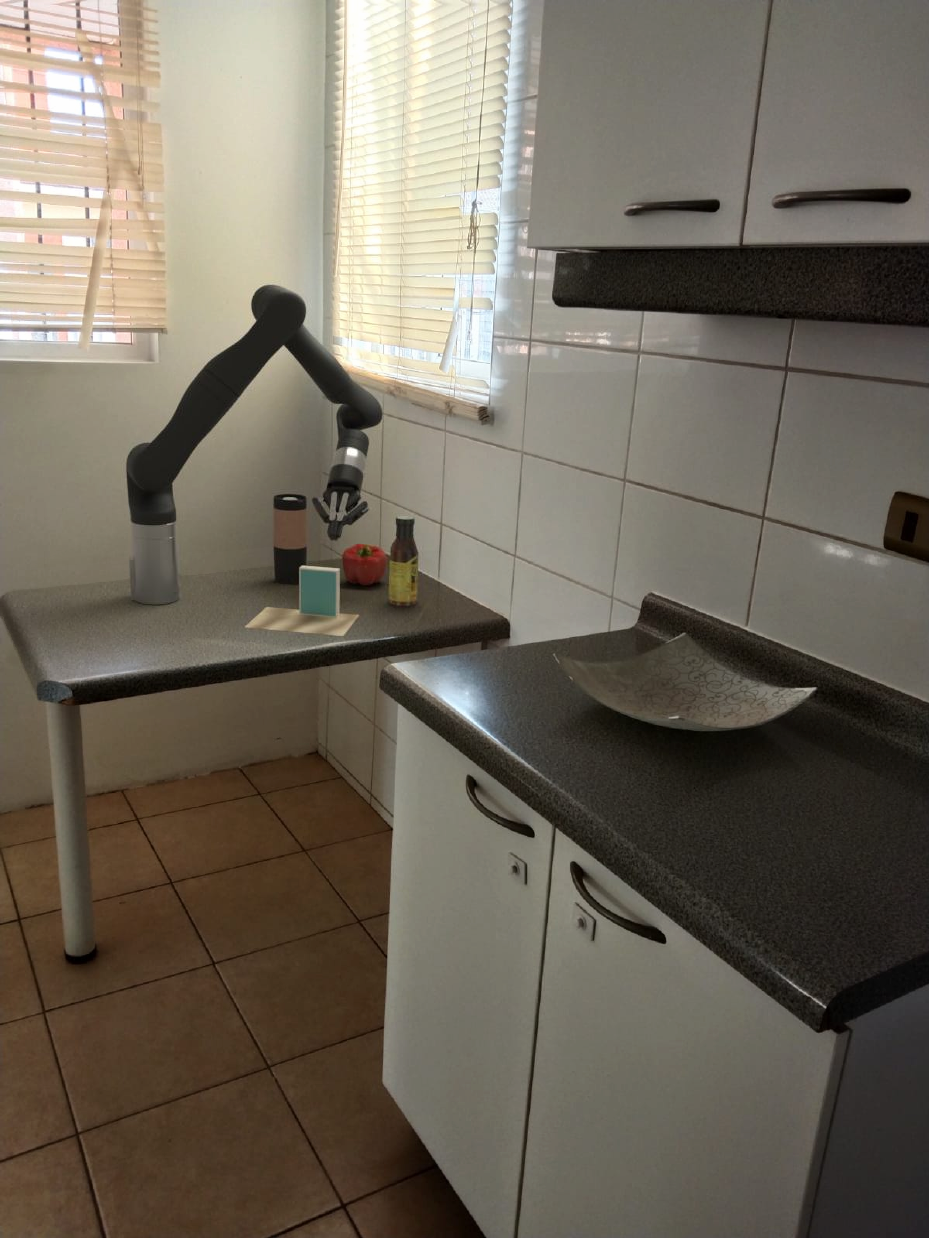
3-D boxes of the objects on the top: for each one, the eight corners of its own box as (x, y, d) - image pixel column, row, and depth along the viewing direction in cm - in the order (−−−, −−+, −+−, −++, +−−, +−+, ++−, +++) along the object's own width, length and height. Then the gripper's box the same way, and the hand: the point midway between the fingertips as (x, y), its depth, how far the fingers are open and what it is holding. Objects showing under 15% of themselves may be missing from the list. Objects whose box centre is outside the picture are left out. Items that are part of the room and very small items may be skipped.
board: (244, 631, 199) (244, 627, 199) (266, 611, 212) (266, 607, 212) (343, 640, 197) (343, 635, 196) (359, 619, 210) (359, 615, 210)
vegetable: (390, 589, 233) (391, 547, 229) (345, 591, 230) (346, 548, 227) (381, 577, 243) (382, 536, 239) (338, 578, 240) (339, 537, 237)
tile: (299, 614, 208) (299, 568, 205) (302, 611, 210) (302, 565, 207) (336, 617, 207) (337, 571, 204) (339, 614, 209) (339, 568, 206)
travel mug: (273, 576, 238) (272, 493, 232) (306, 576, 239) (306, 494, 233) (273, 585, 231) (273, 500, 225) (307, 585, 232) (307, 500, 226)
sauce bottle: (416, 611, 218) (419, 521, 212) (387, 609, 217) (389, 520, 211) (417, 602, 224) (420, 515, 218) (389, 601, 224) (391, 513, 218)
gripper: (315, 460, 221) (299, 526, 213) (374, 464, 219) (361, 531, 211) (321, 480, 227) (306, 545, 219) (378, 484, 226) (365, 550, 218)
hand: (333, 538), depth 215 cm, fingers closed
